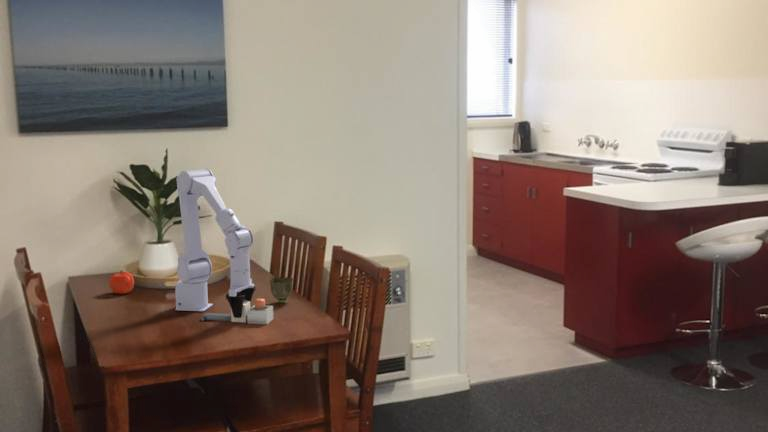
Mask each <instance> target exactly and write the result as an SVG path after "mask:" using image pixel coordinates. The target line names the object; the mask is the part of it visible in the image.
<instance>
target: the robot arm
mask: <svg viewBox="0 0 768 432" xmlns="http://www.w3.org/2000/svg"><path fill="white" fill-rule="evenodd" d="M175 179H176V187H177V196H178V198H179V208H180V217H181V228H182V235H183V245H184V251H183V252H182V253H181V254H180V255H179V256H178V258H177V266H176V274H177V277H178V278H179V280H178V281H177V282H176V284H175V291H174V292H175V311H183V312H185V311H186V312H187V311H188V312H205V311H206V310H208V309H209V308H211V307H212V306H213V303H209V297H208V296H209V294H208V280H209V278H210V277H211V275H212V273H213V263H212V262H211V259H210V254H209V252H207V251H205V250H204V249H203V245H202V235H201V224H200V215H199V206H198V204H199V203H198V199H199V198H200V197H201V196H202V197H203V199H204V200H206V201H207V202H206V203H208V205H209V206H210V207H211V209H212V210H213V212H215V222H216V223H217V225H218V226H219V229H221V232H223V234H224V237H225V238H224V243H225V246H226V248H227V253H228V255H229V270H230V273H229V274H230V284H229V285H230V286H229V289H228V293H227V294H225V298H226V300H227V302H228V304H229V306H230V310H231V309H232V312H233V316H234V318H241V316H242V309H243V302H244V300H247V301H250V306H252V305H251V304H252V299H253V295H254V293H255V291H256V286H255V283H253V279H252V278H251V265H250V264H251V263H250V262H251V261H250V247H251V246H252V245H253V244H254V243H253V242H254V236H253V233H252V230H251V229H250V228H247V227H246V226H245V225H242V224H241V222H240V220H239V218H238V216H237V215H236V214H235V212H234V210H233V209H231V208H227V206H226V204H225V202H224V200H223V198H222V197H221V195H220V193H219V191H218V189H217V187H216V182H217V181H216V177H215V175H214V174H213V172H212V170H210V169H209V168H203V169H196V170H182V171H180V173H178V175H177V177H176V178H175Z"/></svg>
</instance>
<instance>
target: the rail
mask: <svg viewBox="0 0 768 432" xmlns="http://www.w3.org/2000/svg"><path fill="white" fill-rule="evenodd" d="M246 319H247V316H246ZM202 321H203V322H205V321H219V322H220V321H223V322H224V321H225V322H231V313H217V312H216V313H215V312H205V313H202V315H201V317H200V322H202ZM246 323H248V321H247V322H246Z"/></svg>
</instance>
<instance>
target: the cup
mask: <svg viewBox="0 0 768 432" xmlns="http://www.w3.org/2000/svg"><path fill="white" fill-rule="evenodd" d="M293 282H294V278H293V277H289V278H288V276H286V277H285V276H283V277H281V276H279V277H277V276H275V277H271V278H270V279H269V285H270V291H271V296H272V297H274V298H275V301H276V303H277V304H278V305H279V304H280V305H284V304H287V303H288V298H290V297H291V296H292V293H293V285H294V284H293Z"/></svg>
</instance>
